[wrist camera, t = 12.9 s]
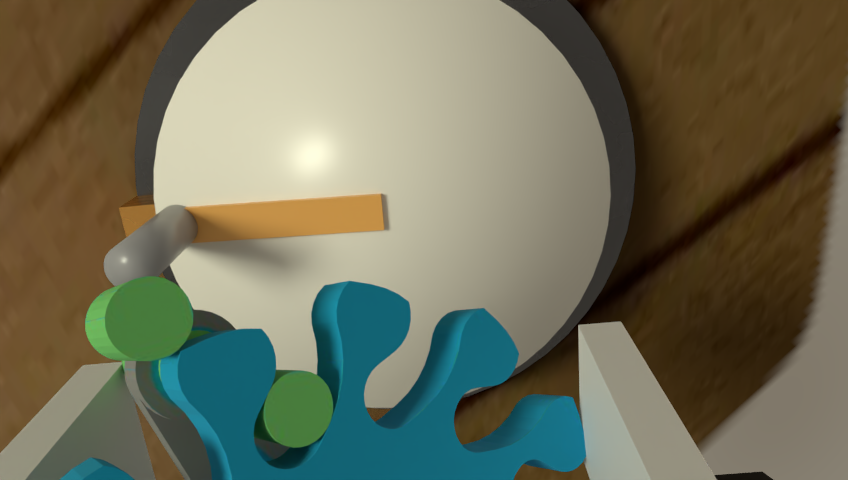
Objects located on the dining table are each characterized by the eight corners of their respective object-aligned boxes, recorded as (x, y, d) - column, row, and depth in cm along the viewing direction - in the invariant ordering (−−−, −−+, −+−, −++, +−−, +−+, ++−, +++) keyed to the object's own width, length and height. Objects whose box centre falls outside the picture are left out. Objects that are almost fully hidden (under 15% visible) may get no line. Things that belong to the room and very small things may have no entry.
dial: (598, -47, 22) (661, -68, 16) (593, 367, 27) (640, 464, 21) (135, -13, 22) (35, -20, 16) (213, 391, 27) (157, 494, 21)
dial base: (200, 413, 29) (180, 450, 26) (90, -46, 23) (52, -52, 20) (628, 374, 28) (647, 408, 26) (626, -105, 22) (651, -118, 20)
